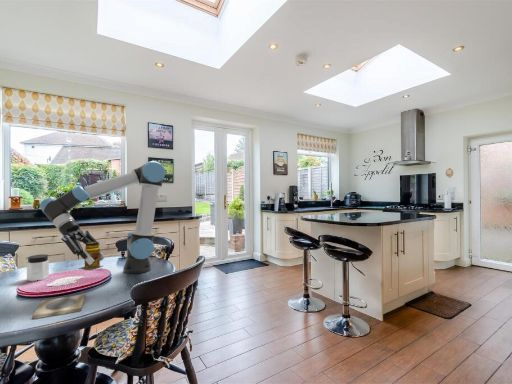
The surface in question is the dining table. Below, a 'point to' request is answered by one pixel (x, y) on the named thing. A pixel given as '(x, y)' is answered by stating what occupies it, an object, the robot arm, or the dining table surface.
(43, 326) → the dining table surface
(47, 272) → the jar
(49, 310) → the board
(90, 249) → the condiment
